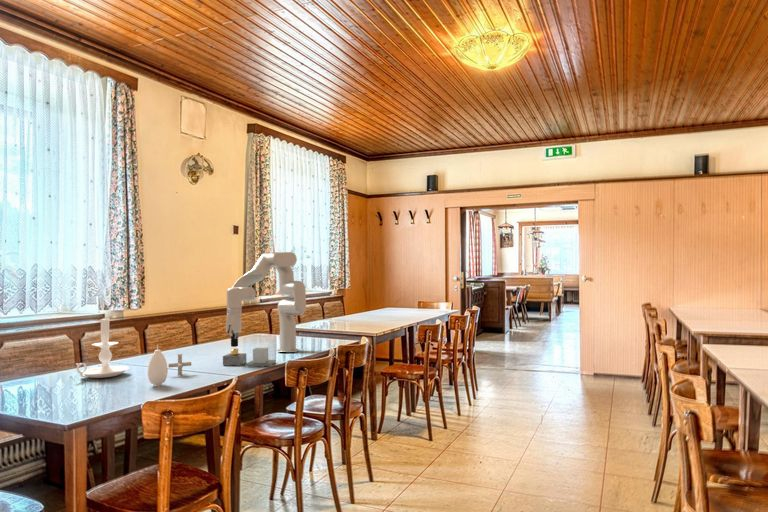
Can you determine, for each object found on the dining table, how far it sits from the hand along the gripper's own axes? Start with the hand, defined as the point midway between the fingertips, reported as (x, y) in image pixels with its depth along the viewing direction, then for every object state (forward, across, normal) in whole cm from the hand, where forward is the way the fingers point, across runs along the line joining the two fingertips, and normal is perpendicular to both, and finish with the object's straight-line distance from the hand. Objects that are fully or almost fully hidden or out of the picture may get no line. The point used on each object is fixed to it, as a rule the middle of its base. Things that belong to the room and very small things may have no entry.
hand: (234, 346), depth 272 cm
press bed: (+9, +1, +15) cm, 17 cm away
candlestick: (+10, +35, -50) cm, 62 cm away
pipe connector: (+10, +29, -14) cm, 34 cm away
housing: (+8, +1, +14) cm, 17 cm away
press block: (+9, 0, 0) cm, 9 cm away
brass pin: (+6, 0, 0) cm, 6 cm away
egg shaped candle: (+10, +51, -12) cm, 53 cm away
